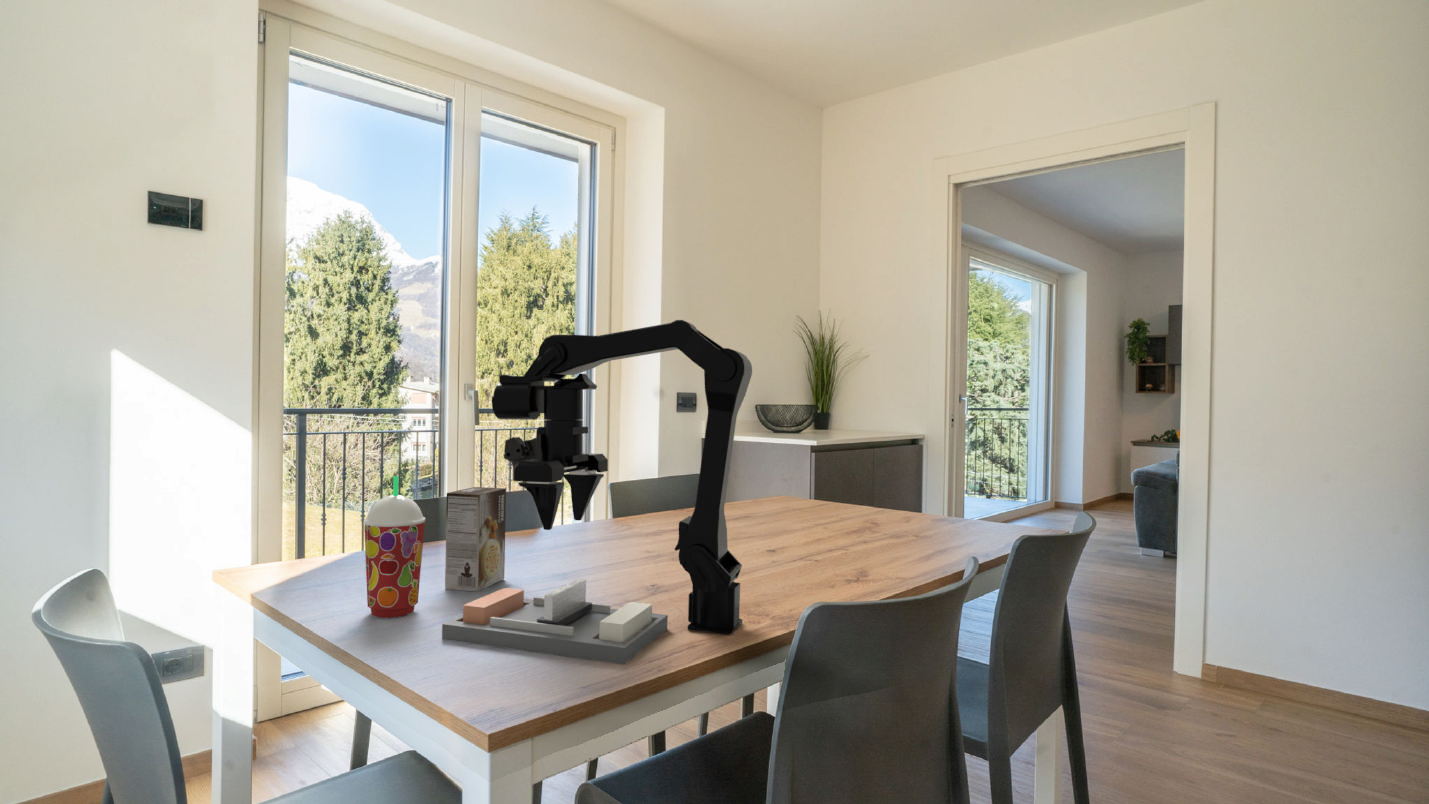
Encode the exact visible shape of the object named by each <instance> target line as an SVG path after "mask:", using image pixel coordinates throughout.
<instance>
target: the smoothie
mask: <svg viewBox="0 0 1429 804" xmlns="http://www.w3.org/2000/svg"><path fill="white" fill-rule="evenodd" d="M392 484H393V486H392V487H393V489H392V492H393V493H392V494H390V495H387V496H384V497H382V498H381V499H379V500H377V501H376V502H375V503H374V504H373V505H372V506H371V508H370V509H369V511H368V513H367V516H366V517H365V518H364V519H363V524H364V529H363V530H364V547H365V549H364V551H365V553H364V554H365V555H364V556H365V574H366V575H365V576H366V595H367V597H366V601H367V603H366V604H367V607H368V608H370V612H371V615H372V616H373V617H375V618H379V619H395V618H396V619H397V618H401V617H406V616H408V615H411V614H412V613H413V612H414V610H415V606H416V605H417V604H418V603H419V591H420V581H421V572H422V571H421V570H422V569H421V568H422V559H423V547H424V546H423V545H424V537H425V522H426V517H424V516H423V511H421V508H420V507H419V505H418V503H416V501H414V500H413V499H412V498H410V497H408V496H405V495H402V494H399V476H398V475H396V476H395V475H394V476H393V483H392Z"/></svg>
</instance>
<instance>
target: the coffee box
mask: <svg viewBox="0 0 1429 804" xmlns="http://www.w3.org/2000/svg"><path fill="white" fill-rule="evenodd" d="M506 499H507V488H506V487H502V488H501V487H484V486H483V487H482V486H472V487H469V488H465V489H459V490H455V491H450V492H449V491H448V492H446V507H445V508H446V511H445V513H446V514H445V515H446V516H445V519H446V520H445V522H446V523H445V524H446V525H445V563H444V564H445V568H444V572H445V573H444V575H445V576H444V578H445V579H444V589H446V590H453V591H467V592H477V593H478V592H480V591H482V590H484V589H486V588H488V587H491V586H492V585H495V584H496V583H498V582H501V581H503V580H505V569H506V568H505V565H506V561H505V560H506V552H505V551H506V513H507V512H506V509H507V507H506V505H507V504H506V503H507V500H506Z"/></svg>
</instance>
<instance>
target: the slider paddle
mask: <svg viewBox="0 0 1429 804" xmlns="http://www.w3.org/2000/svg"><path fill="white" fill-rule="evenodd" d="M543 598H544V616H542V617H541V618H539V619H537V623H545V624H553V625H561V626H565V625H566V624H568V623H570V622H572V621H573V620H575V619H577V618H578V617H580V616H582V615H584V614H585V613H587V612H589V611H590V610H592V603H593V602H591V601H589V602H588V601H587V599H586V598H587V579H583V578H582V579H581V578H577V579H576V580H574V581H571V582H569V583H567V584H565V585H563V586H560V587H559V588H557V589H554V590H553V591H550V592H548V593H546V594H544V597H543Z"/></svg>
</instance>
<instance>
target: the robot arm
mask: <svg viewBox="0 0 1429 804" xmlns="http://www.w3.org/2000/svg"><path fill="white" fill-rule="evenodd" d="M675 350H679V351H681V353H683V355H685V356H686V357H687V358H688V359H690V361H692V362H693V363H694V364H695V365H696V366H698V367H700V368H701V369H702V370H703V371H704V372H703V375H704V393H705V400H706V406H707V418H706V423H705V425H706V427H705V433H704V440H703V441H704V442H703V447H702V453H701V454H702V455H701V463H700V468H699V469H700V470H699V478H698V482H697V483H698V484H697V491H696V498H695V505H694V510H693V512H692V515H688V516H687V517H685V518H684V519H682V520H680V521H679V522H678V539H677V544H676V546H675V547H674V551H675V552H676V551H677V552H678V561H679V564H680V565H681V566H682V568H683V570H684V571H685V572H687V573H688V574H689V578H690V581H691V584H692V589H691V591H690V593H689V594H688V606H687V612H688V613H687V621H688V622H689V624H688V625H687V627H686V628H687V629H686V630H689V631H696V632H704V633H713V634H721V635H732V634H734V633H735V631H736V630H738V628H739V627H740V626H741V625H742V624H743V619H741V618H740V605H741V604H740V601H741V599H740V597H741V582H735V580H736V579H738V578H739V575H740V573H741V570H742V567H743V566H742V563H741V562H740V561H739V560H738V559H737V558H736V557H735V555H734V554H733V553H731V551H730V550H729V549H728V528H727V522H726V521H727V520H726V516H725V505H726V499H727V497H726V496H727V491H728V481H729V474H730V467H731V461H732V452H733V446H734V438H735V433H736V432H735V431H736V425H737V417H738V414H739V411H740V408H741V406H742V404H743V402H744V399H745V398H746V394H747V391H748V388H749V385H750V382H751V378H752V375H753V365H752V362H751V361H750V359H749V358H748V357H747V355H745V354H744V353H742V352H740V351H738V350H734V349H732V348H729V347H728V348H727V347H723V346H721V345H720V344H718V343H717V342H715V341H714V340H713V339H711V338H710V337H708V336H707V335H705V334H704V333H702V332H701V330H699V329H697V327H696V326H695V325H694V324H692V323H691V322H688V321H686V320H683V319H676V320H673V321H671V322H669V323H663V324H657V325H656V324H655V325H651V326H646V327H639V328H633V329H629V330H624V331H623V330H622V331H617V332H611V333H607V334H601V335H599V334H598V335H585V334H584V335H583V334H551V335H549V336H546V337H545V338H544V339H543V341H542V342H541V344H540V347H539V349H538V355H536V357H535V359H534V360H533V362H532V363H531V364H530V366H529V368H528V369H527V370H526V372H525V373H524V374H523V375H519V376H518V375H512V374H500V375H499V377H498V379H499V381H498V382H499V383H497V385H496V386H495V388H494V391H493V395H492V396H491V407H492V412H493V414H494V416H495V417H496V418H497V419H498V420H505V421H506V420H511V421H512V420H513V421H514V420H518V421H521V420H523V421H524V420H525V421H526V420H528V421H529V420H530V421H532V420H533V421H536V420H537V419H539V417H540V415H541V414H543V426H538V427H537V429H536V434H535V435H536V437H534V438H532V439H528V440H527V439H526V440H523V439H522V438H521V437H519V436H516V437H515V436H514V437H511V438H508V439H506V440H504V451H503V452H504V454H503V458H504V460H507V461H509V462H511V465H512V481H513V482H517V484H518V485H519V487H522V488H524V489H525V490H527V492H528V493H530V495H531V497H532V499H533V503H534V504H535V507H536V510H537V514H538V516H539V519H540V522H541V525H542V528H543V530H544V531H545V530H546V531H551V530H552V529H553V526H554V523H555V520H556V516H557V513H558V508H559V504H560V501H561V497H562V494H563V490H564V486H565V482H564V481H563V482H562V480H563V478H564V479H565V481H566V482H567V483H568V484H569V487H570V496H571V506H572V514H573V520H574V521H582V520H583V517H584V515H585V513H586V511H587V509H588V506H589V504H590V502H591V500H592V497H593V496H594V494H595V491H596V489H597V488H598V485H600V482H601V479H602V478H604V476H605V475H604V473H605V472H608V471H609V465H608V464H609V461H608V458H607V457H606V456H605V454H603V453H590V452H589V453H588V452H587V453H584V437H583V435H584V434H585V435H586V434H589V426H584V409H583V408H584V390H586V391H587V390H592V391H593V390H597V388H598V385H597V384H596V383H595V382H593V381H592V380H591V379H590V378H589V377H588V375H587V373H584V372H586V371H589V370H593V369H595V368H596V367H599V366H600V365H603V364H605V363H608V362H611V361H617V360H623V359H628V358H634V357H639V356H647V355H652V354H653V355H654V354H657V353H659V354H660V353H663V352H669V351H670V352H671V351H675ZM575 375H577V376H576V377H574V378H565V377H566V376H575ZM546 382H552V383H553V382H554V383H553V385H545V383H546Z"/></svg>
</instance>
